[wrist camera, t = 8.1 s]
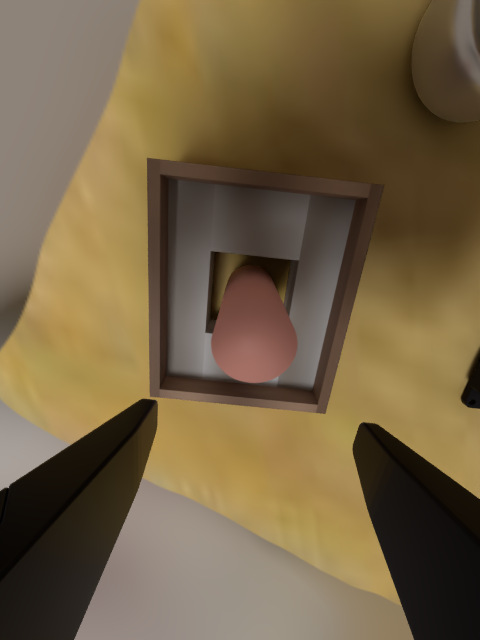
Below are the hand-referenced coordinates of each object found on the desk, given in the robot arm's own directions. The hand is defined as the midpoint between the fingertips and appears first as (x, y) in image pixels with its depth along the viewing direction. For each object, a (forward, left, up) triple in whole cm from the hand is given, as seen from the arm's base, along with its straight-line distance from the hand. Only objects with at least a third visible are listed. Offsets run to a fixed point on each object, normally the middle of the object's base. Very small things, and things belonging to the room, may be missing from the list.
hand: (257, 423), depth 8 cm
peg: (0, -1, -12) cm, 12 cm away
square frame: (0, -1, -12) cm, 12 cm away
